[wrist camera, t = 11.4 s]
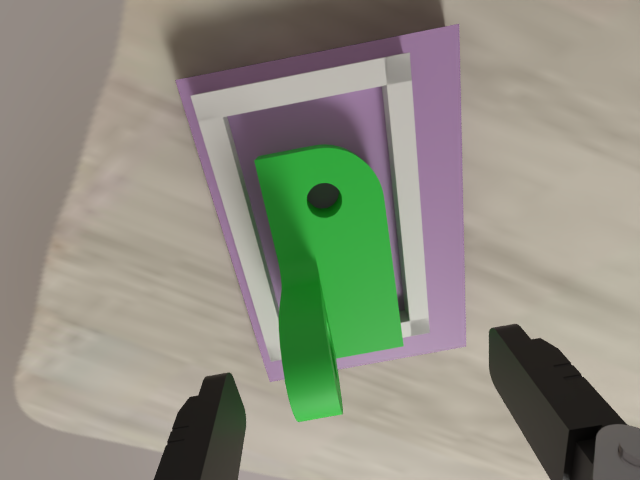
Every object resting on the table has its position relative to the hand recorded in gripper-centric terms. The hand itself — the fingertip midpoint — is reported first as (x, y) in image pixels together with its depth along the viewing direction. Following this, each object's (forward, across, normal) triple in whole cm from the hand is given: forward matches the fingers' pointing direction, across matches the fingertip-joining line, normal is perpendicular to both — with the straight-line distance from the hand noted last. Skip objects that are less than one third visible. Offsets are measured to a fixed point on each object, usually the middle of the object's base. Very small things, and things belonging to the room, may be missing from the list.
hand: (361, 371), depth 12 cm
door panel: (+13, -1, +1) cm, 13 cm away
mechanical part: (+11, 0, +1) cm, 11 cm away
